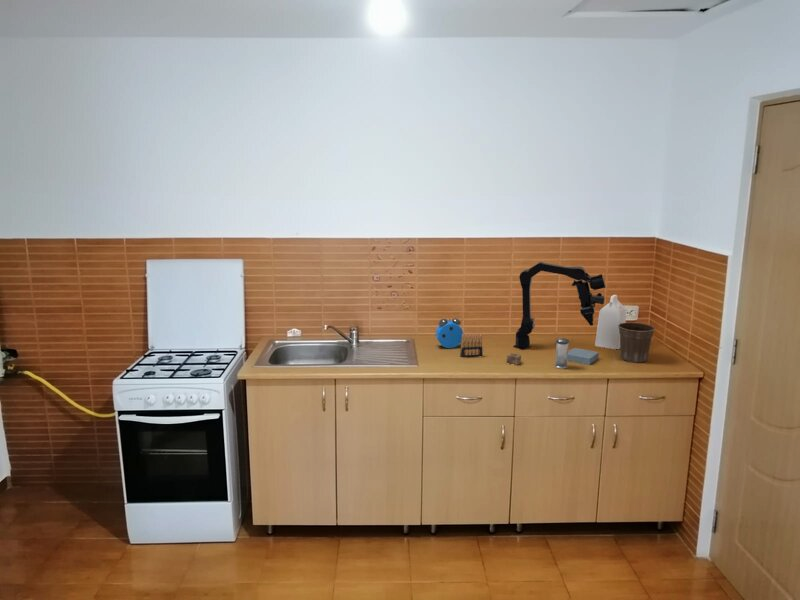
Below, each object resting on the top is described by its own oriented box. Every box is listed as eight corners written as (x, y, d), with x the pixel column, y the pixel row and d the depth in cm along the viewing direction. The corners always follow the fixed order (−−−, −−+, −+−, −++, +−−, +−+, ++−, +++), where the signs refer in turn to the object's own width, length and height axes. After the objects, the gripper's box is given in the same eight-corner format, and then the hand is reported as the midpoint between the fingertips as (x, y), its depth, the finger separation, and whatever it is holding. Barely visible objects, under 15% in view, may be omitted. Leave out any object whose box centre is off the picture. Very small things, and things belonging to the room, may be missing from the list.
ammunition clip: (481, 355, 294) (482, 331, 291) (482, 356, 292) (483, 332, 289) (460, 356, 292) (460, 332, 289) (461, 357, 290) (461, 333, 288)
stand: (564, 359, 287) (565, 353, 287) (574, 353, 297) (574, 347, 296) (589, 364, 280) (589, 358, 279) (598, 358, 289) (598, 352, 289)
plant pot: (610, 353, 297) (613, 321, 293) (643, 353, 297) (646, 322, 293) (622, 364, 281) (625, 331, 277) (657, 364, 281) (660, 331, 277)
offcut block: (506, 363, 282) (507, 355, 281) (510, 361, 286) (511, 352, 285) (516, 365, 279) (517, 357, 278) (520, 362, 283) (521, 354, 283)
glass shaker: (551, 366, 278) (553, 339, 275) (559, 364, 281) (561, 337, 278) (562, 369, 273) (563, 342, 271) (570, 367, 277) (571, 340, 274)
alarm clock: (460, 344, 311) (460, 316, 308) (463, 348, 305) (464, 319, 302) (435, 345, 309) (435, 317, 305) (438, 349, 303) (438, 320, 299)
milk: (602, 340, 319) (606, 292, 313) (624, 344, 312) (629, 295, 306) (594, 345, 309) (598, 296, 304) (617, 349, 303) (622, 299, 297)
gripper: (601, 292, 279) (609, 324, 281) (601, 284, 297) (609, 315, 298) (576, 298, 283) (584, 329, 285) (578, 290, 301) (586, 319, 302)
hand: (592, 323), depth 293 cm, fingers open, 9 cm apart
